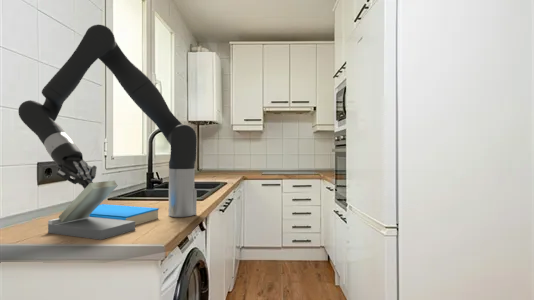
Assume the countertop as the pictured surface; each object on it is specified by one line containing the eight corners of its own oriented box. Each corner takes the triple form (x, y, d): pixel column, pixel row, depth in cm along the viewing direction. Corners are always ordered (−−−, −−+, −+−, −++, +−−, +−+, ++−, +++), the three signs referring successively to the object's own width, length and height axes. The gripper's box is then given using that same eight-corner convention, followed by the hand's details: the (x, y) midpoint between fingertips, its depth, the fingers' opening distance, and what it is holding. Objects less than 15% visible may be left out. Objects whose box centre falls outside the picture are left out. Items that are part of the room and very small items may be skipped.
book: (102, 204, 134) (159, 207, 126) (102, 215, 134) (159, 219, 126) (63, 211, 118) (125, 215, 110) (63, 224, 118) (125, 229, 110)
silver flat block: (87, 217, 112) (84, 211, 112) (117, 185, 108) (114, 180, 108) (61, 222, 104) (58, 216, 104) (93, 188, 99) (89, 183, 100)
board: (85, 224, 115) (85, 212, 115) (135, 229, 108) (135, 217, 108) (48, 232, 103) (48, 220, 103) (100, 239, 96) (101, 226, 96)
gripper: (49, 141, 103) (80, 184, 98) (87, 142, 115) (117, 181, 110) (36, 159, 105) (66, 203, 100) (75, 158, 117) (104, 197, 112)
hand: (93, 191), depth 105 cm, fingers closed
